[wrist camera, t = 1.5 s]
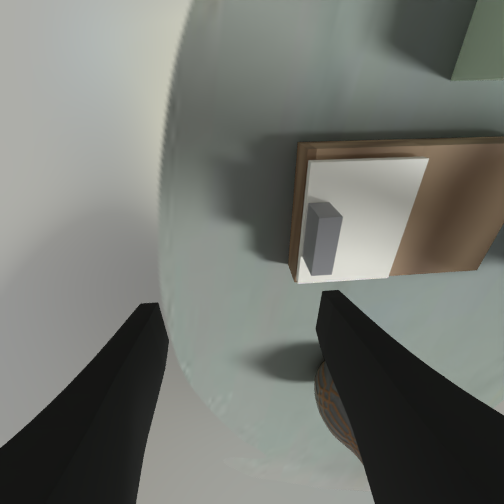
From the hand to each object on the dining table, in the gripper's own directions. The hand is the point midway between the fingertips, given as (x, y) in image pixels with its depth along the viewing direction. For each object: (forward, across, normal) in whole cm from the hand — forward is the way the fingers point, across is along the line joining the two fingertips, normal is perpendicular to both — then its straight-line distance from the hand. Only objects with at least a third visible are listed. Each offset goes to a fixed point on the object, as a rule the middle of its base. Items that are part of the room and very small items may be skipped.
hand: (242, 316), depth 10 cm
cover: (+7, -7, 0) cm, 10 cm away
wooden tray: (+9, -11, 0) cm, 14 cm away
